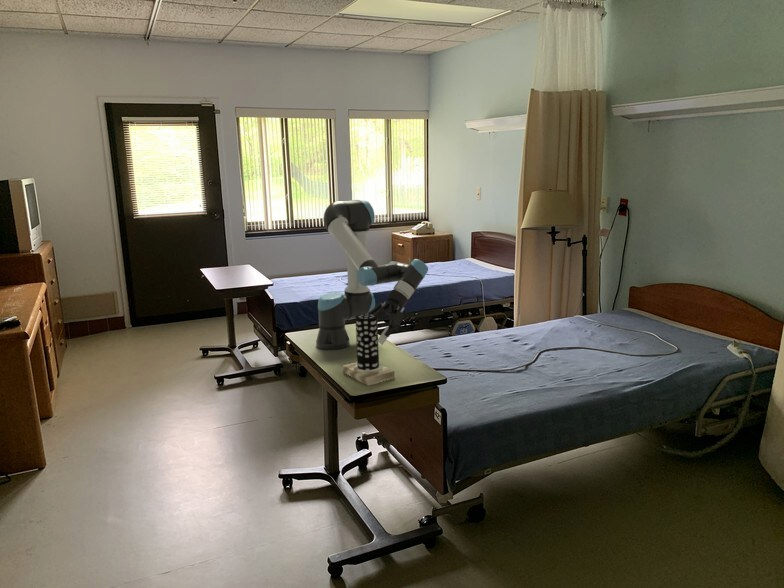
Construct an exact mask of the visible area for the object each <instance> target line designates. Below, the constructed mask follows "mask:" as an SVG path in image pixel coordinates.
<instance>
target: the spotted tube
mask: <svg viewBox="0 0 784 588" xmlns="http://www.w3.org/2000/svg"><path fill="white" fill-rule="evenodd" d="M378 323H379V322H378V319H377V315H375V314H360V315H357V316H356V318H355V336H356V337H355V338H356V339H355V340H356V358H357V359H356V362H357V366H358V368H359V369H361V370H374V369H377V368H378V367H379V364H380V360H379V359H380V355H379V353H380V351H379V342H378V341H377V340H378V339H379V331H378V330H379V328H378V327H379V326H378V325H379V324H378Z"/></svg>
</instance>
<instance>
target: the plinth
mask: <svg viewBox="0 0 784 588" xmlns="http://www.w3.org/2000/svg"><path fill="white" fill-rule="evenodd" d="M342 373H343V374H345V375H346V374H347V375H346V376H348V375H349V377H350V376H351V378H352V379H354V380H356V381H358V382H360V383H362V384H364V385H366V386H373V385H376V384H379V382H380V383H384V382H386V380H387V381H390V379H391V380H395V370H393V369H391V368H389V367H387V366H385V365H382V364H381V363H379V367H378V368H377V369H374V370H361V369H359V368H358V366H357V361H356V362H352V363H347V364H343V365H342ZM383 381H384V382H383Z"/></svg>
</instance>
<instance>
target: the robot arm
mask: <svg viewBox="0 0 784 588" xmlns="http://www.w3.org/2000/svg"><path fill="white" fill-rule="evenodd" d="M375 216H376V215H375V210H374V207H373V206H372V205H371V203H370V202H369V201H368V200H365V199H353V200H351V199H350V200H337V201H334V202H332V203H330V204H329V205H328V206H327V207H326V209H325V211H324V214H323V223H324V227H325V228H326V231H327V232H328V234H329V235H330V236H333V237H334V238H335V239H336V241H337V242H338V243H339V246H340V247H341V248H342V249H343V251H344V252H345V254H346V263H347V265H346V268H347V269H346V270H347V286H346V287H345V288H344V293H342V292H336V291H335V292H329V293H325V294H323V295H321V296H320V297H319V298H318V302H317V311H318V312H317V313H318V328H319V329H318V334H317V337H316V340H315V341H316V342H315V344H316V347H317V348H318V349H320V350H327V351H328V350H329V351H330V350H332V351H333V350H339V349H340V350H341V349H344V348H347V347H349V346H350V345H351V343H350V338H349V334H348V331H347V330H346V322H345V321H350V320H354V319H355V320H356V316H357V315H360V314H375V315H377V320H378V319H379V318H381V317H382V316H386V315H389V318H388V320H389V321H388V325H387V326H386V327H385V329H384V330H383V331H382V332H381V334H380V336H378V340H377V341H378V344H380V345H382V346H383V345H384V344H385V342H386V341H387V339H388V338H389V337H390V336H391V334H392V333H393V332H394V331H399V329H400V326H401V324H402V320H403V316H404V313H405V311H406V308H405V306H406V305H407V303H408V300H409V299H410V298H411V296H412V295H413V294H414V293H415V291H416V290H417V289H418V287H419V285H420V284H421V283H422V282H423V279H424V278H425V277H426V275H427V274H428V272H429V267H428V265H427V264H426V263H425V262H423V261H422V260H420V259H418V258H414V259H413V260H412V261H410V263H405V262H400V261H389V262H387V263H385V264H377V261H375V260H374V258H373V257H372V255H370V253H369V252H368V250H367V234H368V232H369V231H370V226H371V225H373V224H374V222H375ZM387 283H395V284H394V286H393V289H391V291H390V292H389V293H388V295H387V299H388V300H387V301H385V300H384V299H382V300H381V301H380V302H379V303H378V304H377V305H376V298H375V297H374V294H373V291H371V290H370V288H369V287H370V286H376V285H382V284H387Z"/></svg>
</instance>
